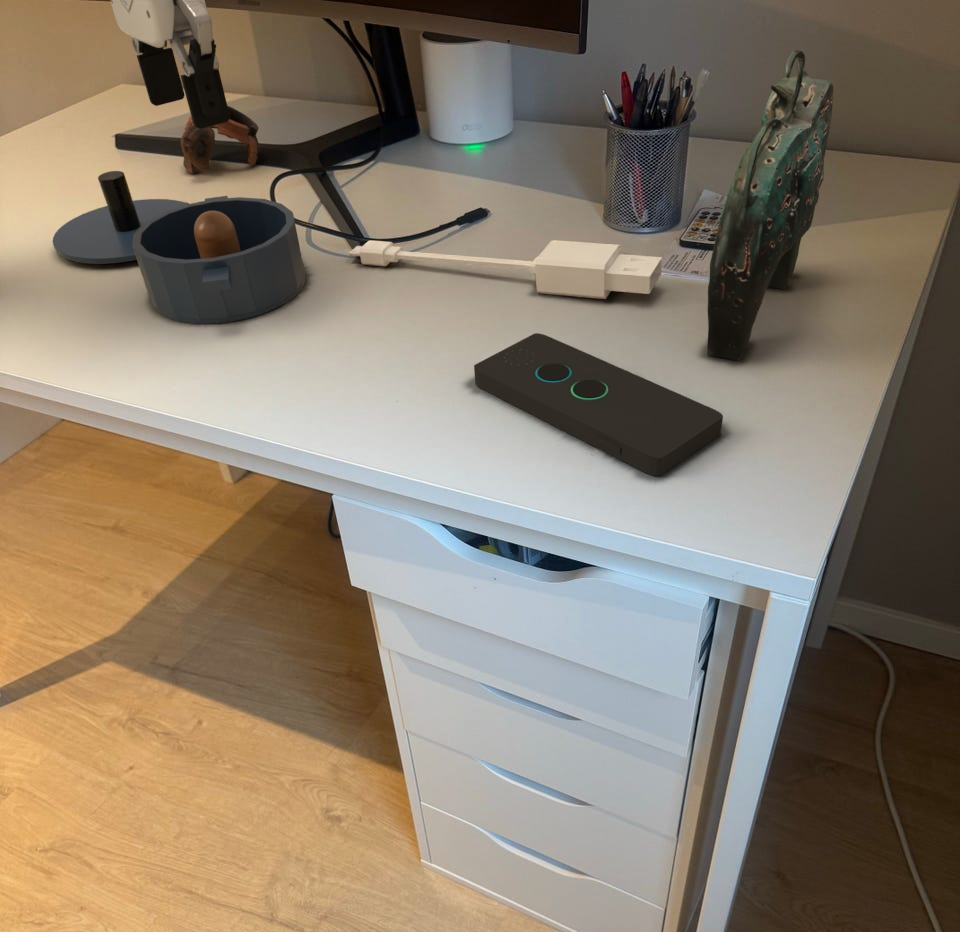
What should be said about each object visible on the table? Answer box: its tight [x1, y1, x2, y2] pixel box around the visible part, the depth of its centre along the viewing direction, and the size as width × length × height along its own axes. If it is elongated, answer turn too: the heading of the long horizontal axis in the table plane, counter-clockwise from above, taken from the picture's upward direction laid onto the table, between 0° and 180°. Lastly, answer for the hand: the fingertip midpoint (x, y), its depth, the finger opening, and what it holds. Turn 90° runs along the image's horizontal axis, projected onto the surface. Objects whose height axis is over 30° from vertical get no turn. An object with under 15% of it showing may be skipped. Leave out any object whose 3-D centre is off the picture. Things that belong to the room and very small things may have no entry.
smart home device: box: [473, 332, 724, 477], centre depth 72 cm, size 8×2×20 cm
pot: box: [132, 195, 306, 325], centre depth 90 cm, size 16×21×6 cm
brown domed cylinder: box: [194, 211, 241, 259], centre depth 89 cm, size 4×4×7 cm
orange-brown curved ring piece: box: [180, 104, 260, 175], centre depth 116 cm, size 12×10×8 cm
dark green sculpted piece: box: [706, 49, 834, 361], centre depth 75 cm, size 20×6×20 cm, turn 152°
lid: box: [52, 170, 190, 265], centre depth 100 cm, size 17×17×7 cm
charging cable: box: [348, 239, 663, 300], centre depth 89 cm, size 5×32×3 cm, turn 67°
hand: (189, 112), depth 81 cm, fingers open, 9 cm apart
